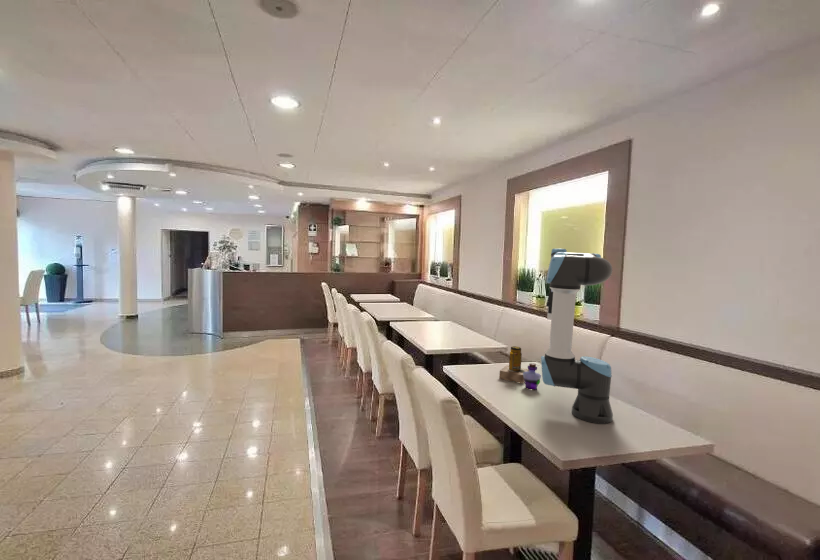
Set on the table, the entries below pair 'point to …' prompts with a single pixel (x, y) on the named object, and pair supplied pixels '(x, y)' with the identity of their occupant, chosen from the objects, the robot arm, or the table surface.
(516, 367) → the condiment
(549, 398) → the table surface
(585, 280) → the robot arm
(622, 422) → the table surface
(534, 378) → the potion bottle
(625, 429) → the table surface
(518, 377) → the walnut block
